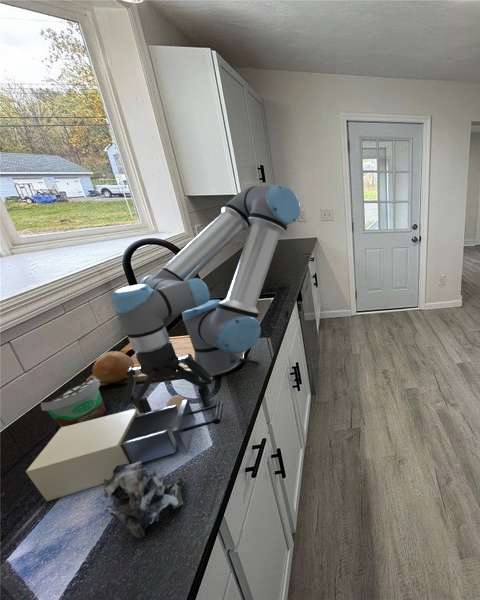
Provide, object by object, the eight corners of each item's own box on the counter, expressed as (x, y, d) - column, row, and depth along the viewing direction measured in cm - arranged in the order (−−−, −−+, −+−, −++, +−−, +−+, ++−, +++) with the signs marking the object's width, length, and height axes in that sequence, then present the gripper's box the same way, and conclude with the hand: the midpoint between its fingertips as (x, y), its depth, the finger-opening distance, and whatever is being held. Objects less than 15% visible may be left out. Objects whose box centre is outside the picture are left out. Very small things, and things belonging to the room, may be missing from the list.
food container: (74, 437, 81) (56, 406, 77) (56, 434, 82) (37, 404, 78) (122, 404, 92) (108, 376, 88) (106, 402, 93) (91, 374, 89)
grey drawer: (228, 410, 85) (221, 390, 83) (224, 440, 76) (216, 418, 73) (134, 437, 78) (123, 416, 76) (116, 474, 68) (103, 451, 66)
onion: (97, 381, 104) (84, 355, 100) (134, 367, 110) (123, 342, 107) (102, 392, 98) (88, 365, 94) (141, 377, 104) (129, 351, 101)
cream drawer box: (149, 434, 80) (137, 407, 77) (132, 474, 69) (117, 445, 66) (77, 455, 75) (60, 427, 72) (46, 501, 64) (25, 471, 61)
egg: (181, 419, 84) (174, 402, 82) (166, 418, 85) (159, 401, 83) (193, 407, 89) (187, 391, 86) (179, 407, 89) (172, 391, 87)
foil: (87, 557, 51) (91, 464, 58) (122, 554, 59) (121, 473, 67) (171, 519, 55) (164, 437, 63) (192, 521, 64) (184, 448, 71)
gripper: (209, 328, 86) (230, 391, 94) (98, 351, 78) (130, 418, 86) (205, 340, 80) (228, 407, 88) (83, 366, 71) (120, 437, 79)
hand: (180, 412), depth 87 cm, fingers open, 12 cm apart
